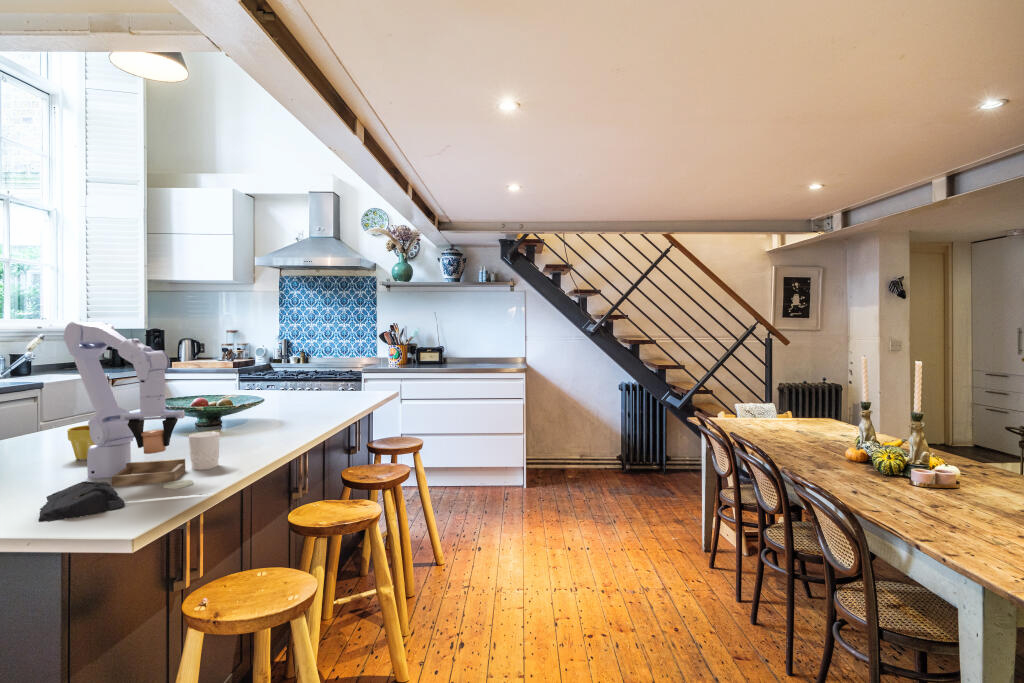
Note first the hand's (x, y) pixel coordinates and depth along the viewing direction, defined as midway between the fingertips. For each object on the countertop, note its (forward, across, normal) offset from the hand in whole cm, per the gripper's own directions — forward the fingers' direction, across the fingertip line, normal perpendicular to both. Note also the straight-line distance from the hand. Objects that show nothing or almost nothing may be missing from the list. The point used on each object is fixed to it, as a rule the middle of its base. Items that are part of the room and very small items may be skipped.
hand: (153, 446), depth 148 cm
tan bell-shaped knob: (+1, 0, 0) cm, 1 cm away
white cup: (+9, +10, +9) cm, 17 cm away
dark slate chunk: (+10, -10, -18) cm, 23 cm away
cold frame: (+9, -1, 0) cm, 9 cm away
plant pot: (+9, -28, +36) cm, 47 cm away
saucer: (+9, +8, -10) cm, 16 cm away
